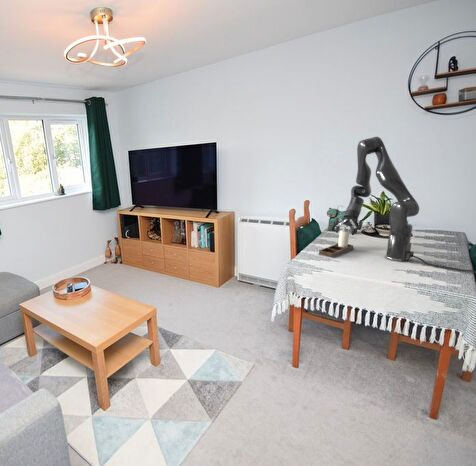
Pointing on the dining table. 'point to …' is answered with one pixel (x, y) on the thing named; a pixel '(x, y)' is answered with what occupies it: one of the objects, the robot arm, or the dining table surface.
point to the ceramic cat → (334, 215)
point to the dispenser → (343, 237)
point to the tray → (335, 250)
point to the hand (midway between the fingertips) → (344, 233)
